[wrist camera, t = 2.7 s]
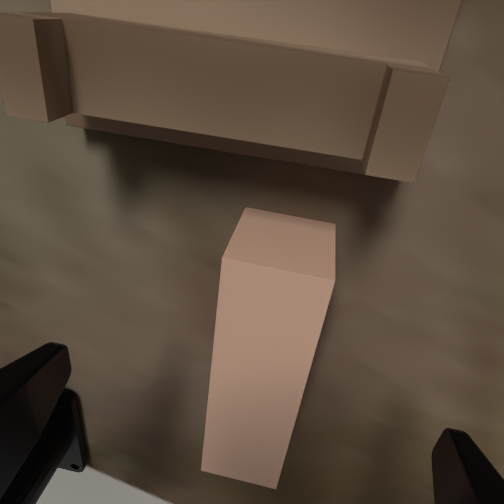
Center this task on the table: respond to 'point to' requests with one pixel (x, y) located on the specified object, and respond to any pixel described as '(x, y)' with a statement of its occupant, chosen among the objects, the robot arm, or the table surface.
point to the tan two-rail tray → (240, 75)
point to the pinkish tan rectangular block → (265, 340)
